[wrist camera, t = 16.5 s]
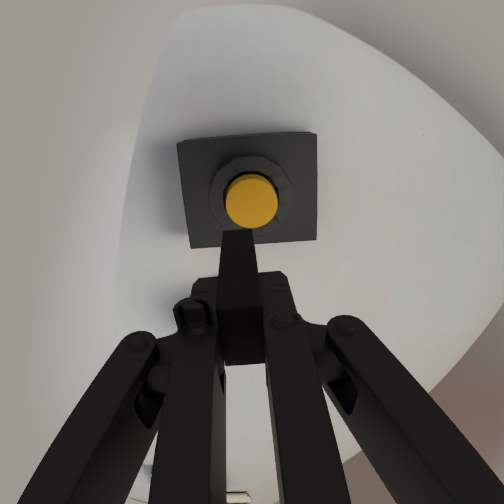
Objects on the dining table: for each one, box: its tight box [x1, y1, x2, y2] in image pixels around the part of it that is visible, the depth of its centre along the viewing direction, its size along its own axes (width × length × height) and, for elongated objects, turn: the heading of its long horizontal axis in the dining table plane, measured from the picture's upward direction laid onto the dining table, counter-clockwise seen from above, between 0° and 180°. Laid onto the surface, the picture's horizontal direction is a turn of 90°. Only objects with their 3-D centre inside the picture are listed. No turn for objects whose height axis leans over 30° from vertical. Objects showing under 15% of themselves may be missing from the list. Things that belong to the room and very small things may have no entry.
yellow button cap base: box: [177, 132, 317, 249], centre depth 26 cm, size 12×10×5 cm
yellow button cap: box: [226, 174, 278, 228], centre depth 24 cm, size 4×4×2 cm
